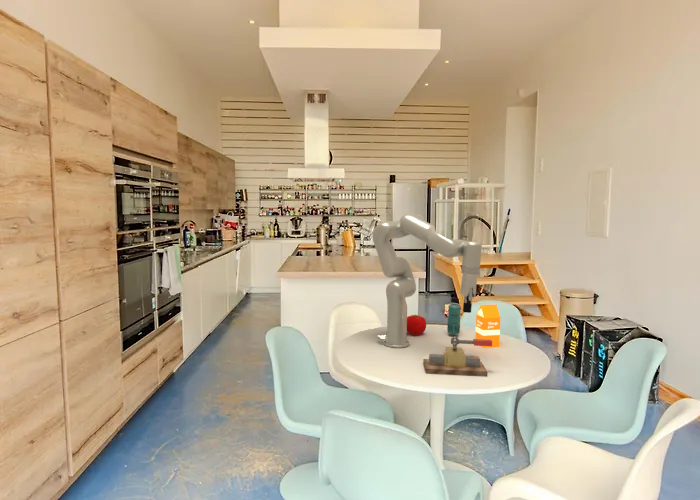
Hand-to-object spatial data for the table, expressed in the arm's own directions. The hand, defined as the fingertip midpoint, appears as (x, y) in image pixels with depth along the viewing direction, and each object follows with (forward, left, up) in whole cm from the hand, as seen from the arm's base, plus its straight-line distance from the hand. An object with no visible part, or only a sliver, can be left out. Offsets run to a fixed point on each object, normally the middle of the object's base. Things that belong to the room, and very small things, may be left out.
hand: (466, 311), depth 191 cm
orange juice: (+14, +23, -21) cm, 35 cm away
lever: (0, -14, -10) cm, 17 cm away
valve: (-7, -14, -19) cm, 24 cm away
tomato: (-20, +38, -21) cm, 48 cm away
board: (-7, -14, -21) cm, 26 cm away
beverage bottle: (0, +38, -21) cm, 44 cm away
